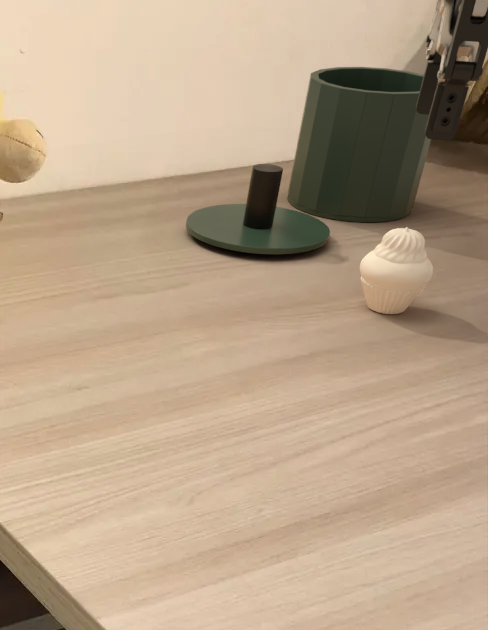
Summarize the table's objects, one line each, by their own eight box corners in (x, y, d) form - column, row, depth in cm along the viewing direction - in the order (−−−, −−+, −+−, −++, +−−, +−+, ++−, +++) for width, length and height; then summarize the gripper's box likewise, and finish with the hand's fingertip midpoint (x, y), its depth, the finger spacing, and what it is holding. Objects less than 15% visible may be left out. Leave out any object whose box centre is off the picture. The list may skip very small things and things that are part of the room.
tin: (405, 191, 121) (437, 71, 113) (416, 227, 111) (451, 97, 103) (287, 182, 123) (310, 63, 115) (286, 216, 113) (311, 88, 105)
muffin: (340, 296, 95) (358, 216, 90) (403, 294, 95) (425, 215, 91) (366, 322, 90) (388, 239, 85) (433, 320, 90) (458, 238, 86)
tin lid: (325, 221, 112) (340, 155, 107) (329, 266, 101) (345, 194, 96) (190, 210, 114) (199, 144, 110) (179, 253, 103) (188, 181, 99)
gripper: (436, -133, 79) (380, 103, 89) (457, -123, 68) (390, 143, 78) (540, -129, 78) (470, 110, 88) (578, -118, 67) (494, 152, 77)
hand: (433, 125), depth 83 cm, fingers open, 8 cm apart
